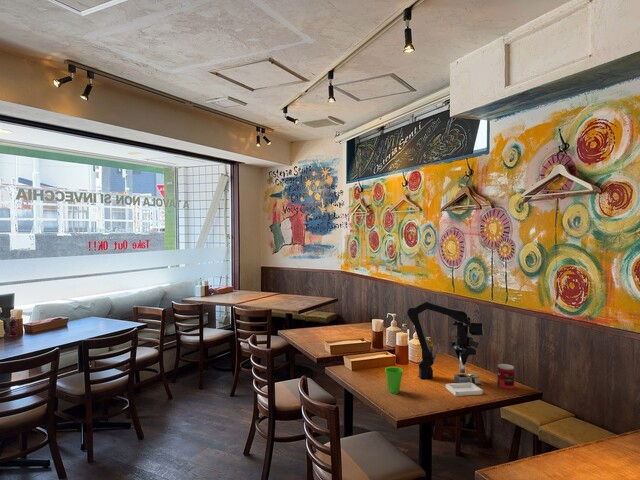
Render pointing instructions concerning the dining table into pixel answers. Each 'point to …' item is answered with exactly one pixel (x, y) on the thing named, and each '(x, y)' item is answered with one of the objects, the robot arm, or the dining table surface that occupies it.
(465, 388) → the tray
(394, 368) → the cup
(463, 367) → the pin
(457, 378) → the plate
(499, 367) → the canned food
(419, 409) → the dining table surface
